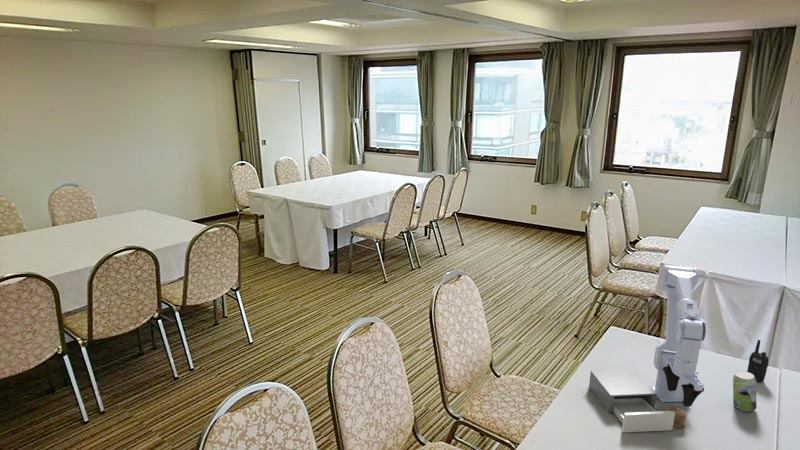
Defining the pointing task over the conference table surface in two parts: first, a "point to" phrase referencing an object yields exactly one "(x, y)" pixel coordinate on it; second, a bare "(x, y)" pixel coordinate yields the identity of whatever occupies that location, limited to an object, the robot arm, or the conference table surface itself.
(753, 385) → the beverage can
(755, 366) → the two-way radio
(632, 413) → the tray
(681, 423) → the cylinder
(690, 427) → the conference table surface
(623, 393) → the housing
